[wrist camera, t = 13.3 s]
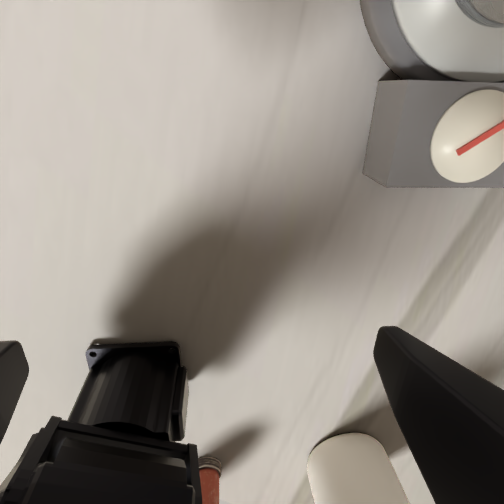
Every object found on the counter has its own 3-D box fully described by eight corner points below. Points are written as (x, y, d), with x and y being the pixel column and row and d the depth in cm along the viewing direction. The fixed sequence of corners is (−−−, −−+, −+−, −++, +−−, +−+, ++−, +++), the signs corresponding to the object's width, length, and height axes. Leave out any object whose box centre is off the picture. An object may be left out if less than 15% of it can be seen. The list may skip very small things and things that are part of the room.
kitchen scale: (330, 173, 20) (351, 189, 17) (385, -255, 13) (439, -365, 10) (514, 174, 21) (566, 189, 18) (659, -219, 14) (786, -307, 11)
